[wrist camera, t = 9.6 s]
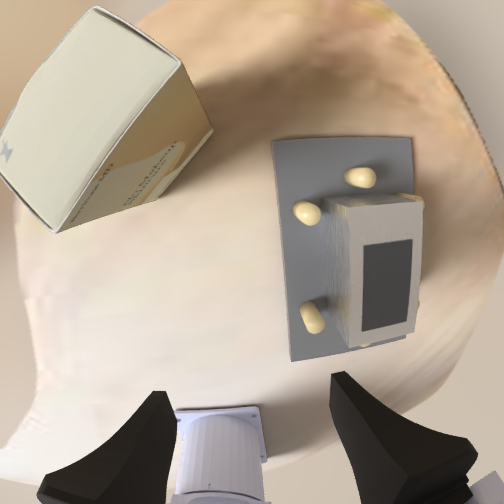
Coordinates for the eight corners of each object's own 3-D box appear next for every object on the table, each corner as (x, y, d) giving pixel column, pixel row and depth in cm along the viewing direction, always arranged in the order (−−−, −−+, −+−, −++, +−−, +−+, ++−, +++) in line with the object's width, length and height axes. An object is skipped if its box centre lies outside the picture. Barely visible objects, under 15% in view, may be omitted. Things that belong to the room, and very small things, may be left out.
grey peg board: (401, 333, 23) (419, 353, 19) (289, 356, 22) (296, 382, 19) (404, 138, 18) (430, 135, 15) (270, 142, 18) (277, 136, 15)
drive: (381, 300, 21) (414, 332, 16) (326, 310, 21) (349, 348, 16) (382, 193, 19) (423, 201, 14) (320, 198, 18) (348, 207, 14)
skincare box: (156, 202, 19) (51, 249, 7) (111, 163, 18) (-20, 167, 6) (219, 127, 18) (189, 59, 6) (171, 89, 17) (91, -1, 5)
